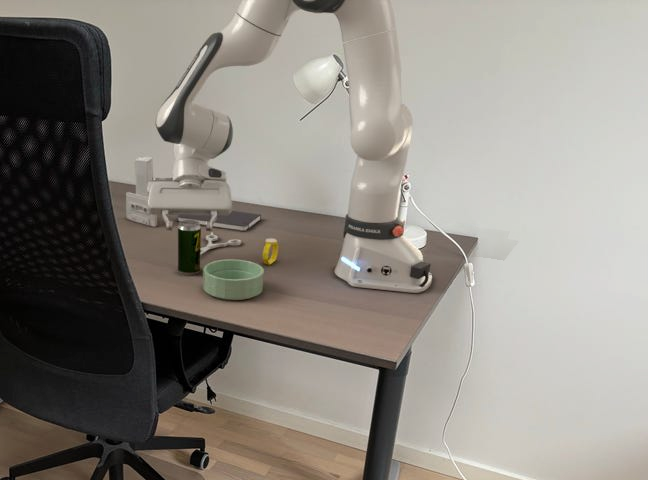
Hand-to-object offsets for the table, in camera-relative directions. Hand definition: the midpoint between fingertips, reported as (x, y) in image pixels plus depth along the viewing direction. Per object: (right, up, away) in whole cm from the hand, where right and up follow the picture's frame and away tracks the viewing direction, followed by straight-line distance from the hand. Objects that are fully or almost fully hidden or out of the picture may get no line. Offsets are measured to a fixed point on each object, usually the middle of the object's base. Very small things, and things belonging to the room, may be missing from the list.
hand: (189, 229), depth 176 cm
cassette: (-14, +8, +37) cm, 40 cm away
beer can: (0, -10, +1) cm, 10 cm away
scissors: (+5, -2, +17) cm, 18 cm away
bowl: (+10, -15, -9) cm, 20 cm away
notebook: (+9, +9, +39) cm, 41 cm away
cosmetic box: (-15, +21, +62) cm, 67 cm away
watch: (+20, -7, +8) cm, 22 cm away
